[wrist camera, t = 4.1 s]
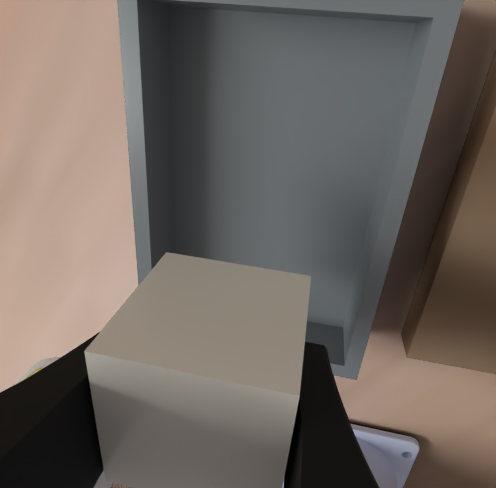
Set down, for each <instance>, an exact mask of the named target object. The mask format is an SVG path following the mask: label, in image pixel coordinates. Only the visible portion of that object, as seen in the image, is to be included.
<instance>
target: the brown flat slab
mask: <svg viewBox="0 0 496 488" xmlns="http://www.w3.org/2000/svg"><path fill="white" fill-rule="evenodd" d="M401 335H402V340H403V344H404V348H405V352H406V356H407V358H413V359H418V360H423V361H429V362H434V363H439V364H445V365H450V366H455V367H461V368H466V369H471V370H477V371H482V372H487V373H493V374H496V51H495V54H494V57H493V60H492V63H491V66H490V69H489V72H488V75H487V78H486V81H485V84H484V87H483V90H482V93H481V96H480V99H479V102H478V105H477V108H476V111H475V114H474V117H473V120H472V124H471V127H470V130H469V133H468V136H467V139H466V142H465V145H464V148H463V151H462V154H461V157H460V160H459V163H458V166H457V169H456V172H455V175H454V178H453V181H452V184H451V187H450V190H449V193H448V196H447V199H446V202H445V205H444V208H443V211H442V214H441V217H440V220H439V223H438V226H437V229H436V232H435V235H434V238H433V241H432V244H431V247H430V250H429V253H428V256H427V259H426V262H425V265H424V268H423V271H422V274H421V277H420V280H419V283H418V286H417V289H416V292H415V295H414V298H413V301H412V304H411V307H410V310H409V313H408V316H407V319H406V322H405V325H404V328H403V331H402V334H401Z"/></svg>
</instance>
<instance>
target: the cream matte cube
mask: <svg viewBox="0 0 496 488" xmlns="http://www.w3.org/2000/svg"><path fill="white" fill-rule="evenodd" d="M310 283H311V276H309V275H303V274H297V273H291V272H284V271H278V270H272V269H266V268H260V267H254V266H248V265H242V264H236V263H229V262H223V261H217V260H211V259H205V258H199V257H193V256H187V255H181V254H174V253H168V252H166V253H165V254H164V256H163V257H162V258H161V259H160V260H159V262H158V263H157V264H156V265H155V267H154V268H153V269H152V270H151V271H150V273H149V274H148V275H147V276H146V277H145V279H144V280H143V281H142V282H141V283H140V285H139V286H138V287H137V288H136V289H135V291H134V292H133V293H132V294H131V295H130V297H129V298H128V299H127V300H126V302H125V303H124V304H123V305H122V306H121V308H120V309H119V310H118V311H117V312H116V314H115V315H114V316H113V317H112V318H111V320H110V321H109V322H108V323H107V324H106V326H105V327H104V328H103V329H102V330H101V332H100V333H99V334H98V335H97V337H96V338H95V339H94V340H93V341H92V343H91V344H90V345H89V346H88V347H87V349H86V350H85V351H84V353H85V359H86V365H87V371H88V377H89V383H90V389H91V395H92V401H93V408H94V414H95V420H96V426H97V432H98V438H99V444H100V450H101V456H102V462H103V468H104V474H105V480H106V481H108V482H111V483H115V484H119V485H123V486H127V487H131V488H282V486H283V481H284V476H285V470H286V465H287V460H288V455H289V449H290V444H291V439H292V434H293V428H294V423H295V418H296V413H297V407H298V402H299V397H300V387H301V377H302V366H303V356H304V345H305V335H306V325H307V314H308V304H309V293H310Z"/></svg>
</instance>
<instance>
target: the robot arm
mask: <svg viewBox="0 0 496 488" xmlns="http://www.w3.org/2000/svg"><path fill="white" fill-rule="evenodd" d="M100 332H101V331H100ZM100 332H99V333H100ZM99 333H97V334H96V335H95V336H93V337H92V338H90V339H89V340H87V341H86V342H84V343H83V344H81V345H80V346H78V347H76V348H75V349H73V350H72V351H70V352H69V353H67V354H66V355H64V356H63V357H61V358H59V359H58V360H56V361H54V362H53V363H51V364H49V365H48V366H46V367H44V368H43V369H41V370H39V371H38V372H36V373H35V374H33V375H31V376H30V377H28V378H26V379H24V380H23V381H21V382H19V383H17V384H16V385H14V386H12V387H10V388H8V389H6V390H5V391H3V392H1V393H0V488H94V486H95V484H96V483H97V481H98V479H99V477H100V475H101V474H102V472H103V470H104V468H103V462H102V456H101V450H100V444H99V438H98V432H97V426H96V420H95V414H94V408H93V401H92V395H91V389H90V383H89V377H88V371H87V365H86V359H85V353H84V351H85V350H86V349H87V347H88V346H89V345H90V344H91V343H92V341H93V340H94V339H95V338H96V337H97V335H98V334H99ZM418 452H419V443H418V441H417V440H416V439H415V438H413V437H410V436H405V435H400V434H396V433H391V432H386V431H382V430H377V429H372V428H368V427H363V426H359V425H354V424H350V422H349V419H348V416H347V414H346V411H345V408H344V406H343V403H342V401H341V398H340V395H339V392H338V389H337V386H336V382H335V379H334V376H333V372H332V369H331V365H330V361H329V356H328V350H327V348H326V347H325V346H324V345H320V344H315V343H310V342H305V345H304V356H303V366H302V377H301V387H300V397H299V402H298V407H297V413H296V418H295V423H294V428H293V434H292V439H291V444H290V449H289V455H288V460H287V465H286V470H285V476H284V481H283V486H282V488H403V486H404V484H405V482H406V479H407V477H408V475H409V473H410V470H411V468H412V466H413V463H414V461H415V459H416V457H417V454H418Z"/></svg>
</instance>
